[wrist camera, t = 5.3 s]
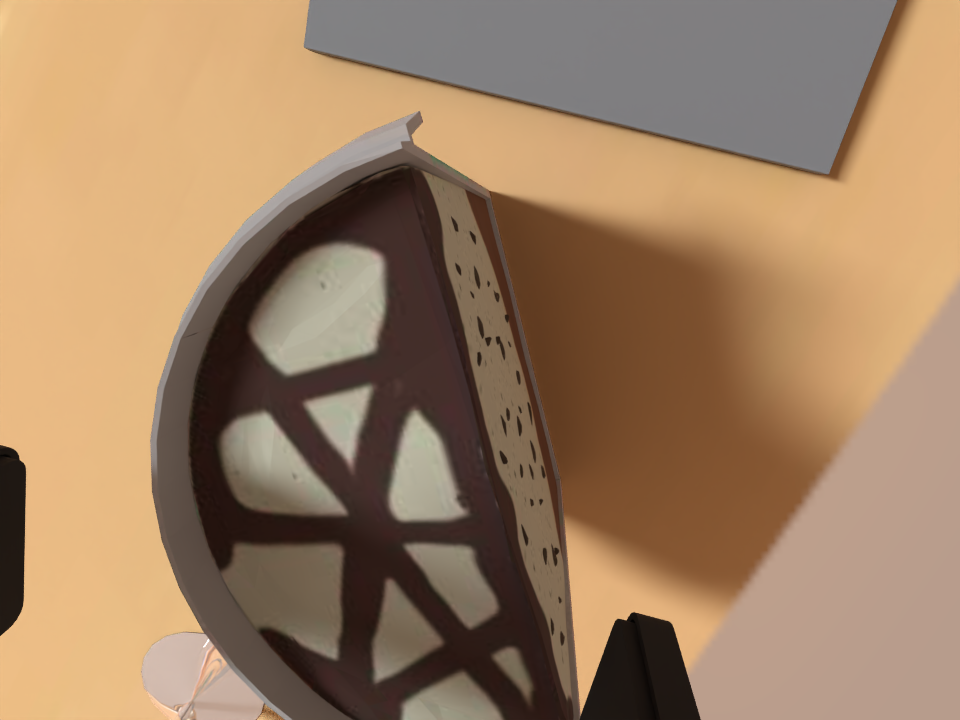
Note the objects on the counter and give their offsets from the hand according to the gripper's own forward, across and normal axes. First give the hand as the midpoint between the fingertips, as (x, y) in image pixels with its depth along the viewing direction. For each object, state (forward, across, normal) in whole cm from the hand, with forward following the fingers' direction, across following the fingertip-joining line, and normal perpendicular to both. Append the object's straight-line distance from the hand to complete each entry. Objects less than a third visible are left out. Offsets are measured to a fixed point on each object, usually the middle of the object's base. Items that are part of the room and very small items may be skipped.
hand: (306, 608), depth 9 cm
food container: (+11, 0, -1) cm, 11 cm away
